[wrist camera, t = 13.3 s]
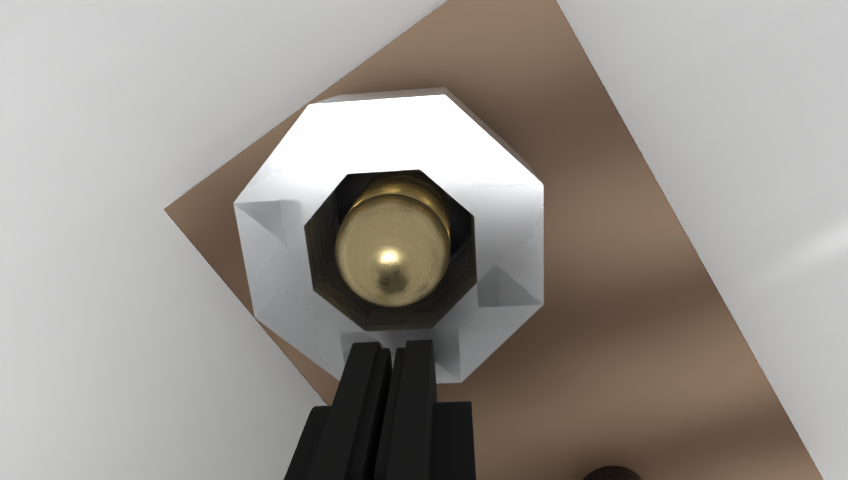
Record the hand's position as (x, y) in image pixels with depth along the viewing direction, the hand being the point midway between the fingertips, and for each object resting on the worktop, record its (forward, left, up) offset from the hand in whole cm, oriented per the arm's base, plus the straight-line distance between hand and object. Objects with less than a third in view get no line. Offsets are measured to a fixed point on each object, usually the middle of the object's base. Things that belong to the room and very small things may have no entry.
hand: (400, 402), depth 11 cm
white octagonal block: (+3, +1, -5) cm, 6 cm away
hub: (+3, +1, -6) cm, 7 cm away
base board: (-2, -4, -8) cm, 9 cm away
